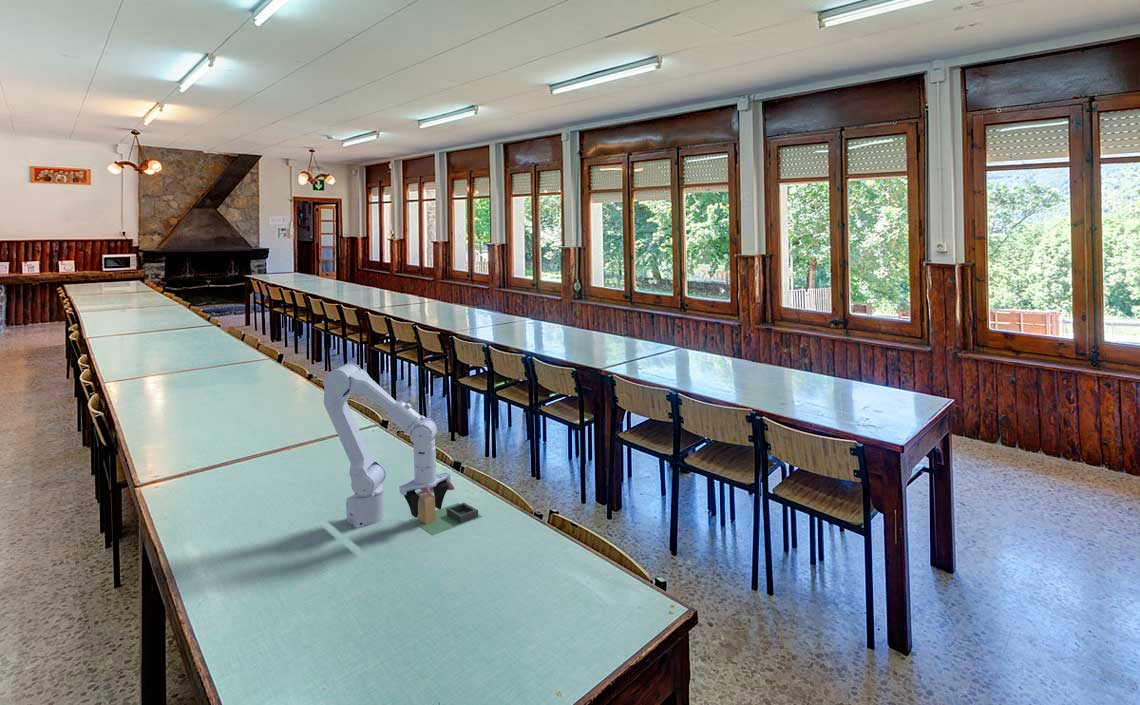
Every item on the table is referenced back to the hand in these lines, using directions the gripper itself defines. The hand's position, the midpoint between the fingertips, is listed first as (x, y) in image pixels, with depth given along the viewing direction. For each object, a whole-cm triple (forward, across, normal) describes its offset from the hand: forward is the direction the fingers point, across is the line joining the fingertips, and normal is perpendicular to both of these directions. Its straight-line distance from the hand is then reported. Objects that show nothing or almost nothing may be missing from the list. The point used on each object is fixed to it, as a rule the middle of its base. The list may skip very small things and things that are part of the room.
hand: (426, 511), depth 167 cm
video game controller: (+4, +13, +15) cm, 20 cm away
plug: (+2, 0, 0) cm, 2 cm away
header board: (+4, +4, -2) cm, 6 cm away
